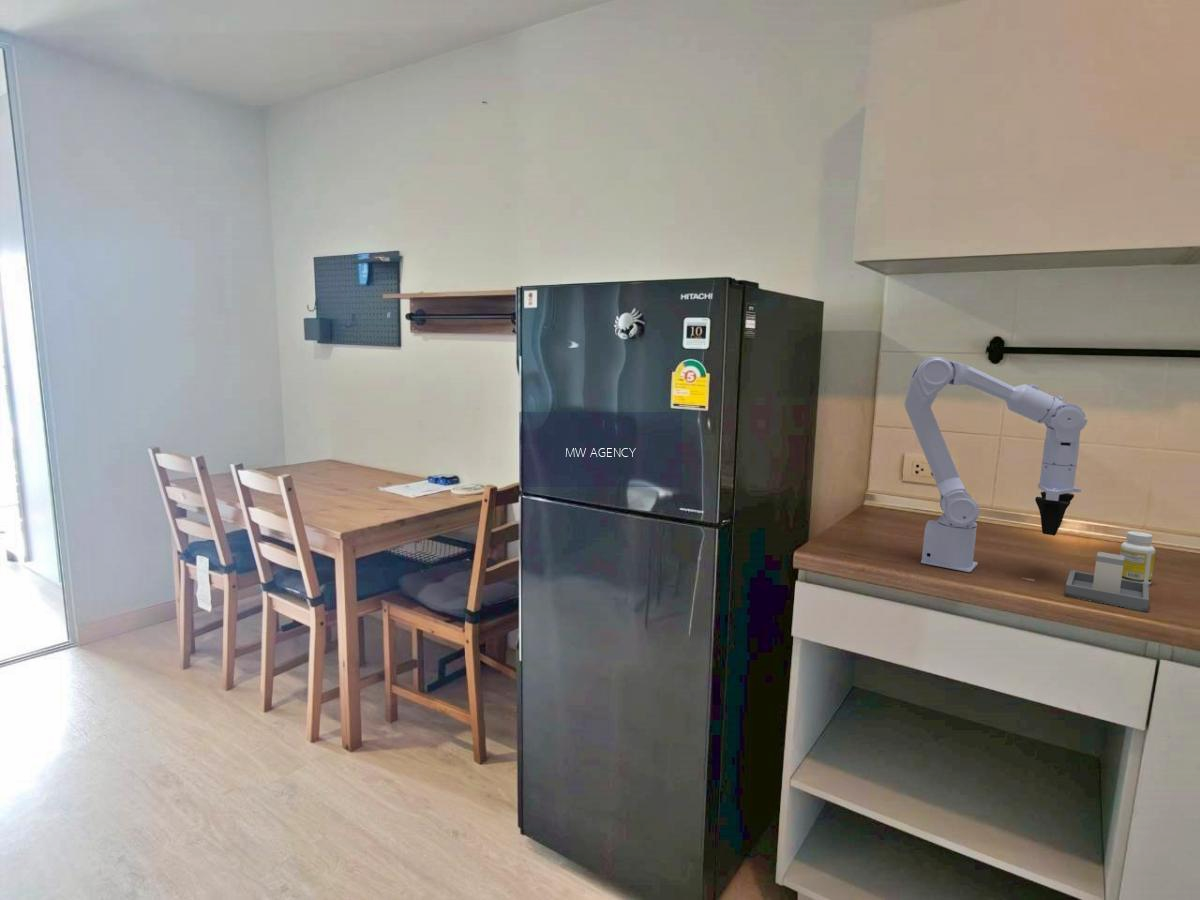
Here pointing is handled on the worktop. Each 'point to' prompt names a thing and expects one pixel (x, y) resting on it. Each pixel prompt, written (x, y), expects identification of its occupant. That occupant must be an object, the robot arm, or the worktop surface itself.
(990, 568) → the worktop surface
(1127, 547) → the supplement bottle
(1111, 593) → the tray
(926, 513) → the worktop surface
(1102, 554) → the light grey tall block
